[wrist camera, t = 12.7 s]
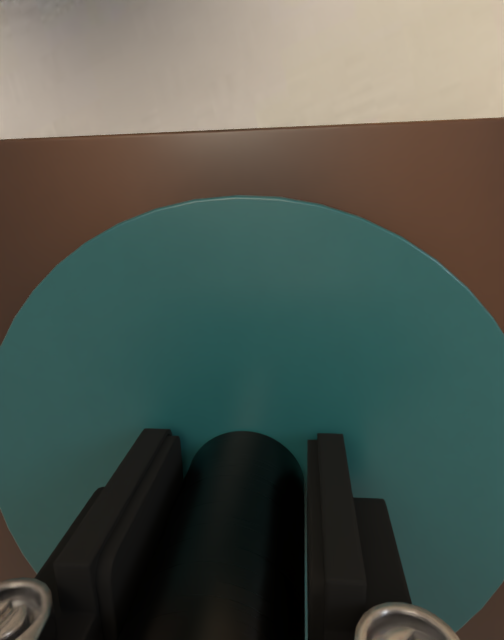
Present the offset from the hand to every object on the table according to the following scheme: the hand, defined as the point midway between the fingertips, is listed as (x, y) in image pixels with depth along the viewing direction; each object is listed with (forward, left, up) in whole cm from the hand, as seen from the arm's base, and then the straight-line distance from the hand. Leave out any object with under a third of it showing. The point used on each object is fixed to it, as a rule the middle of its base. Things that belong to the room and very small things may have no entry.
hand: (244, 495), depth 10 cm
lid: (0, 0, -1) cm, 1 cm away
